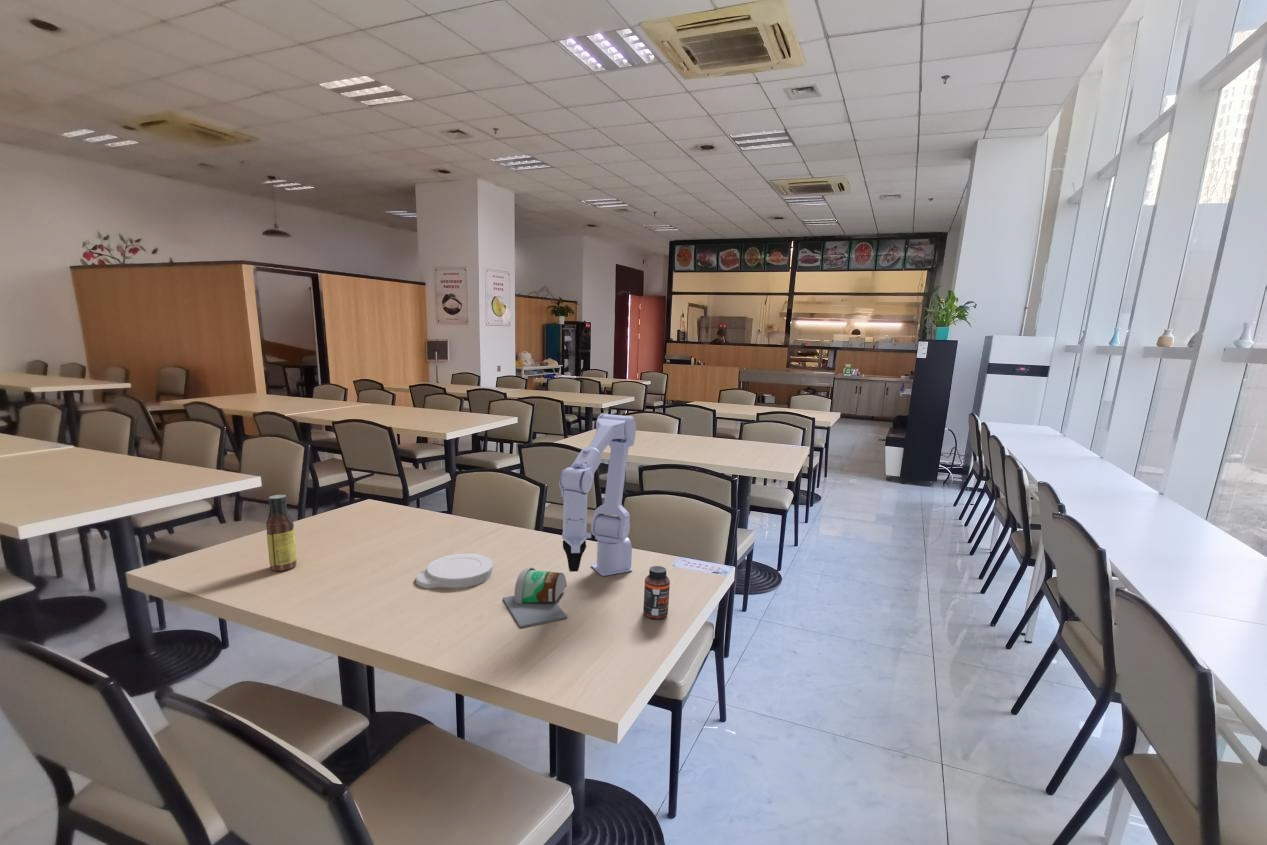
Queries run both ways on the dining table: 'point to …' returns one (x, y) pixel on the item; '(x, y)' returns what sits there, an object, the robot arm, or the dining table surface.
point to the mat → (534, 612)
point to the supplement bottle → (656, 593)
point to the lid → (456, 571)
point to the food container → (539, 586)
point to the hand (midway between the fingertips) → (573, 570)
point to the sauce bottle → (280, 535)
